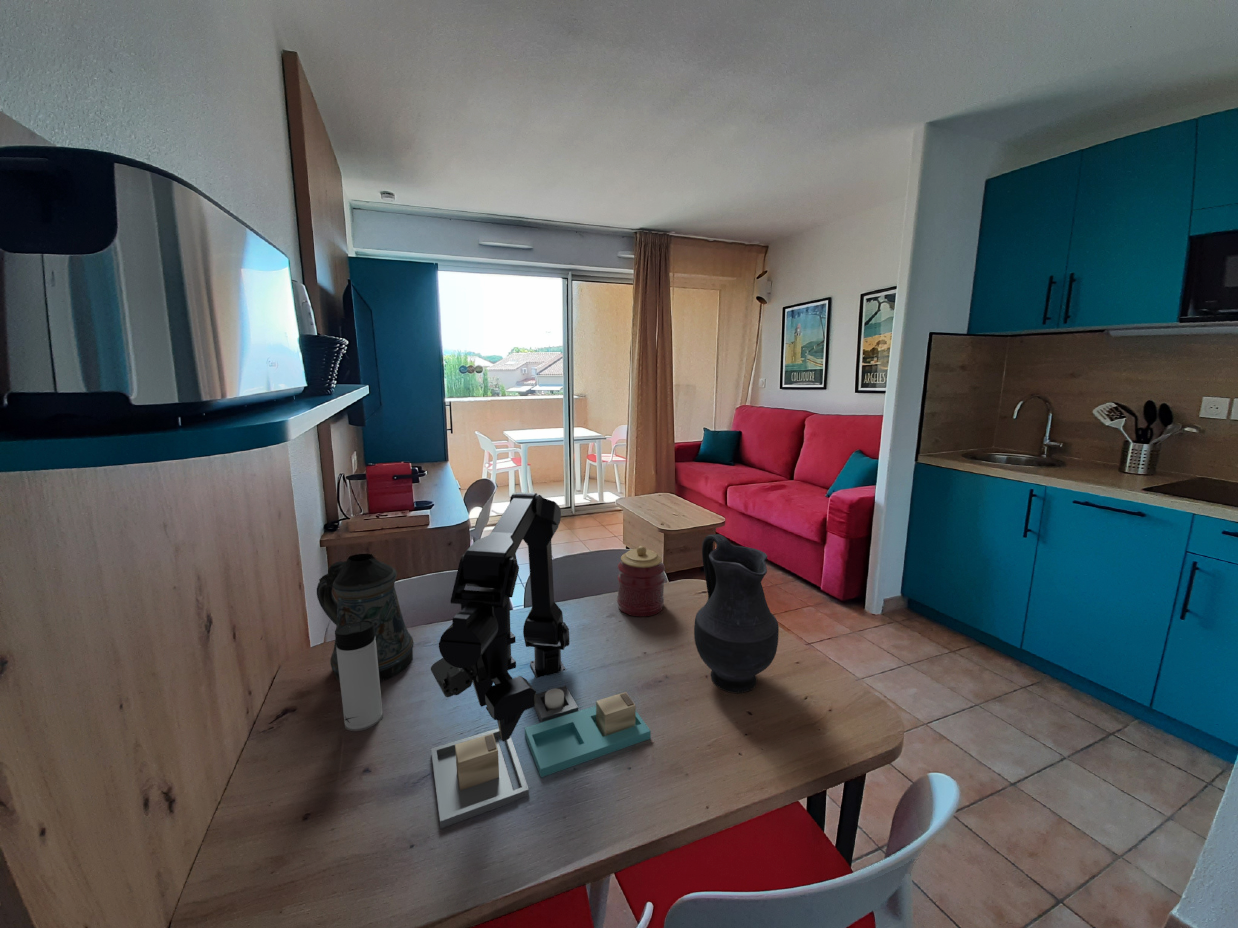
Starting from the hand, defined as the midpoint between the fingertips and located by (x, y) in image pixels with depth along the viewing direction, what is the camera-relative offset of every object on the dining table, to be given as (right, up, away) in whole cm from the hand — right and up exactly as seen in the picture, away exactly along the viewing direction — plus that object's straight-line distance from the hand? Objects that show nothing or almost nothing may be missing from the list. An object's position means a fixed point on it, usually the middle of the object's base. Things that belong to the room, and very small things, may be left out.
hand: (494, 721), depth 76 cm
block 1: (-3, -10, +3) cm, 11 cm away
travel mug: (-28, -8, +15) cm, 33 cm away
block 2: (+19, -8, +13) cm, 24 cm away
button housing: (+7, -8, +18) cm, 21 cm away
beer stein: (-37, -5, +33) cm, 49 cm away
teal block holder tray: (+14, -9, +11) cm, 20 cm away
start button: (+7, -6, +18) cm, 20 cm away
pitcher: (+43, -6, +31) cm, 53 cm away
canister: (+25, 0, +61) cm, 66 cm away
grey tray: (-3, -11, +3) cm, 12 cm away
